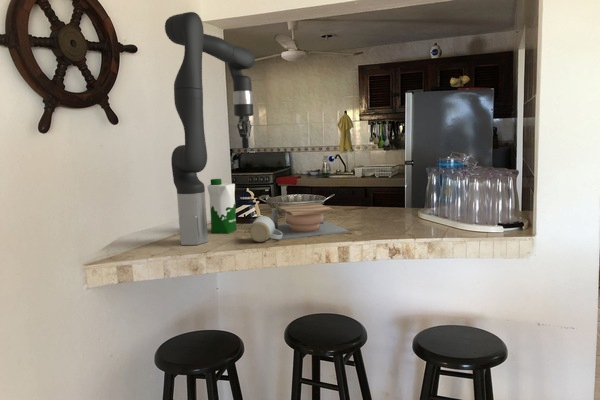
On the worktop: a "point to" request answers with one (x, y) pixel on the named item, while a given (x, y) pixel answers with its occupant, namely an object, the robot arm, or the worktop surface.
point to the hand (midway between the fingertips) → (245, 148)
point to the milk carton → (222, 206)
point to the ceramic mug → (264, 229)
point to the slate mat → (324, 230)
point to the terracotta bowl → (304, 222)
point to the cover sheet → (305, 209)
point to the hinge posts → (275, 220)
